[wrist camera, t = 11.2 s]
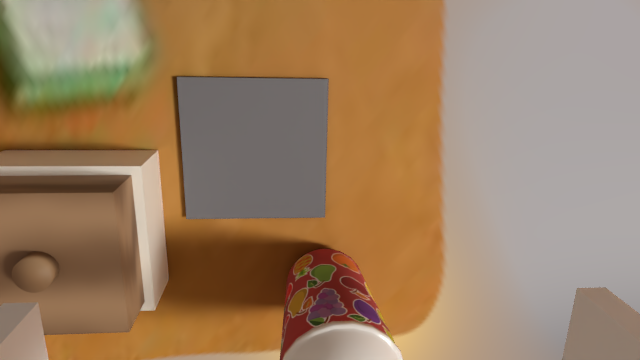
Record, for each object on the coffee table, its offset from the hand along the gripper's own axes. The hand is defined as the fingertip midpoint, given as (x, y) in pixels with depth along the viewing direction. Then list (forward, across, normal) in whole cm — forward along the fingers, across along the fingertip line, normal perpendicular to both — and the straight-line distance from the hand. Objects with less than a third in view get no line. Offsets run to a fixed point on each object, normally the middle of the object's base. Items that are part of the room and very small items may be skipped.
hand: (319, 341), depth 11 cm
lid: (+24, -17, -8) cm, 30 cm away
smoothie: (+29, +3, -14) cm, 32 cm away
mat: (+29, -3, -2) cm, 29 cm away
